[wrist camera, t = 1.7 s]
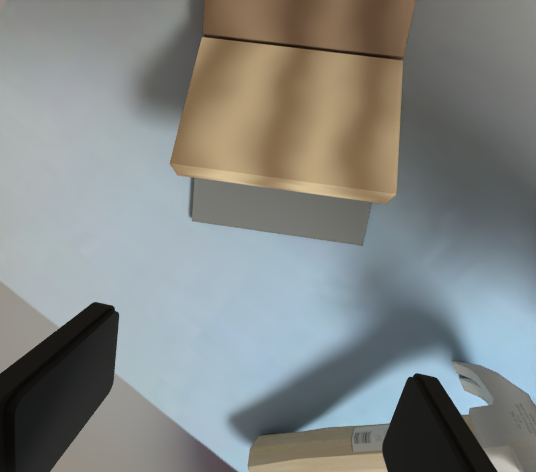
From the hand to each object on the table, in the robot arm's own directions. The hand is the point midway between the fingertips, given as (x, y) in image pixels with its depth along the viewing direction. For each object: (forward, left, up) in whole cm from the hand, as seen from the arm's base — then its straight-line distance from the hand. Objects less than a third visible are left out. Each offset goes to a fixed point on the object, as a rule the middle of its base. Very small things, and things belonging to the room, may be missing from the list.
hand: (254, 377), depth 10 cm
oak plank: (0, -9, -20) cm, 22 cm away
